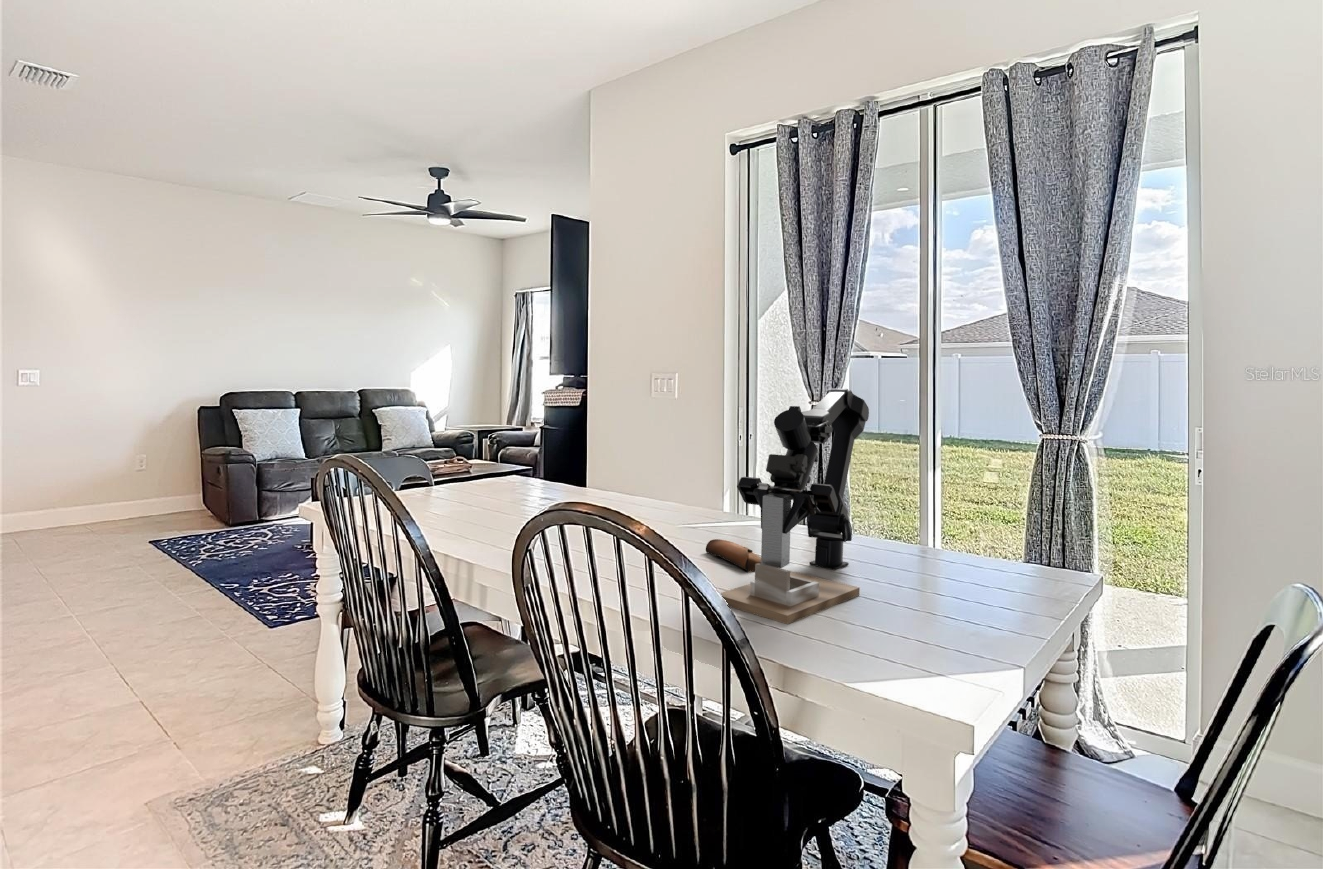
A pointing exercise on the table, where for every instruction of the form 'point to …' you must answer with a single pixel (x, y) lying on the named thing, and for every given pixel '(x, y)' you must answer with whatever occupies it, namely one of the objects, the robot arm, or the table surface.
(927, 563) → the table surface
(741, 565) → the sunglasses case
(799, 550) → the table surface
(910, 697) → the table surface
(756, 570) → the keeper board
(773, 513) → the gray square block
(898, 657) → the table surface
